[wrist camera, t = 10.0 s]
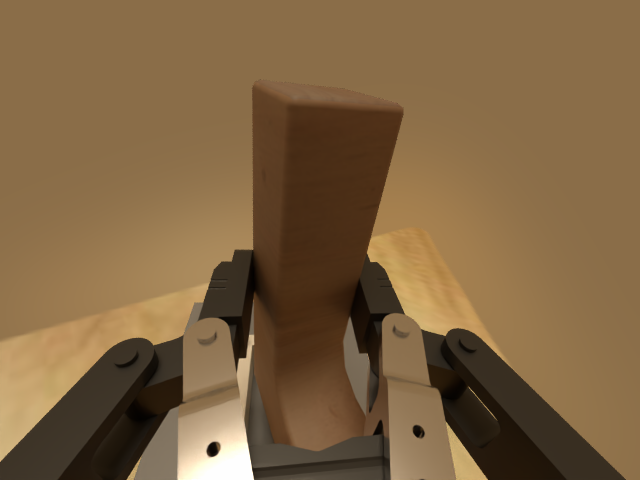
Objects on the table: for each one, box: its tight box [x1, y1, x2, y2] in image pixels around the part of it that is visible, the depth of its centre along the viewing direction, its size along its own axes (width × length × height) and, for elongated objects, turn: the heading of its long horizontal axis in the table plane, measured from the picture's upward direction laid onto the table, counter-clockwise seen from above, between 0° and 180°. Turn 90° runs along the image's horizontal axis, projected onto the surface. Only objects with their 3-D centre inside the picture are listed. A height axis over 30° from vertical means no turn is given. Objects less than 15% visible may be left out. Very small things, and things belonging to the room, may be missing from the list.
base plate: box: [134, 302, 369, 480], centre depth 18 cm, size 14×16×4 cm
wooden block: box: [252, 80, 403, 451], centre depth 10 cm, size 7×3×15 cm, turn 26°
